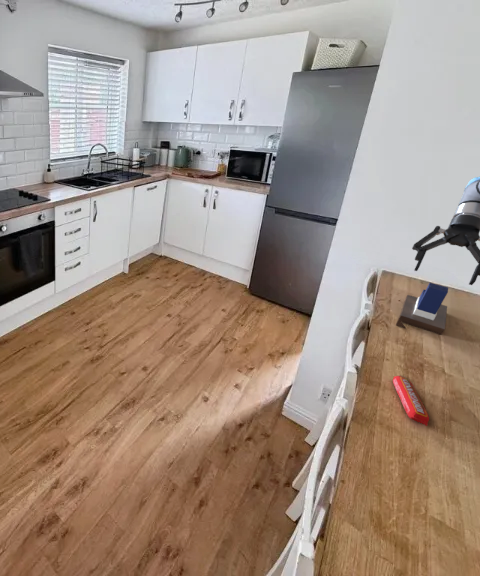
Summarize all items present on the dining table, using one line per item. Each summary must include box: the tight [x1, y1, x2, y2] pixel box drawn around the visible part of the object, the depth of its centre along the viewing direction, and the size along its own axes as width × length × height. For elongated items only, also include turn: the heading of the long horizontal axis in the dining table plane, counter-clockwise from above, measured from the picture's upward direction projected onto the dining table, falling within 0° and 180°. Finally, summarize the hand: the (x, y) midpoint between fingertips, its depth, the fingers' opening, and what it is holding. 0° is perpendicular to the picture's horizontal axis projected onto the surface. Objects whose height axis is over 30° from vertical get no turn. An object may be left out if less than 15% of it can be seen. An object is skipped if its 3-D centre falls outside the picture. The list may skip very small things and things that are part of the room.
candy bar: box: [392, 375, 430, 427], centre depth 88 cm, size 16×4×3 cm, turn 158°
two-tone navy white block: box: [413, 282, 449, 320], centre depth 119 cm, size 12×5×10 cm, turn 138°
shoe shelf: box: [395, 294, 448, 336], centre depth 122 cm, size 20×11×4 cm, turn 138°
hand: (443, 275), depth 116 cm, fingers open, 13 cm apart
